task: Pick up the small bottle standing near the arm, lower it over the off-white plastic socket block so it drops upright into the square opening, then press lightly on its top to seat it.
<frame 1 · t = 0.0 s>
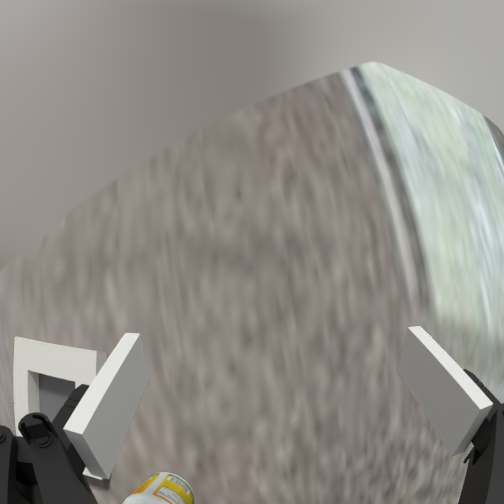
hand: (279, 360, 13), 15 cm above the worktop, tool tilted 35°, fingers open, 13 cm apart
socket block: (62, 405, 25), on the worktop
supplement bottle: (169, 491, 22), on the worktop
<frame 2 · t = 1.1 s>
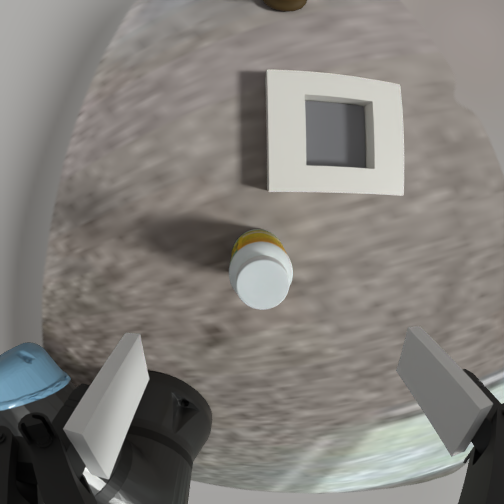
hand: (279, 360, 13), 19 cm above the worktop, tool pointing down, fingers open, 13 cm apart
socket block: (334, 134, 28), on the worktop
supplement bottle: (257, 252, 32), on the worktop
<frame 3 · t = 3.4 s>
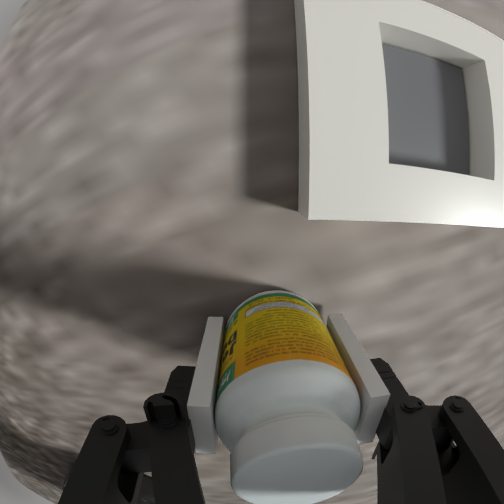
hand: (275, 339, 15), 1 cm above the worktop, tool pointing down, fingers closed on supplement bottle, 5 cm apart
socket block: (421, 108, 13), on the worktop
supplement bottle: (274, 330, 16), on the worktop, touching gripper
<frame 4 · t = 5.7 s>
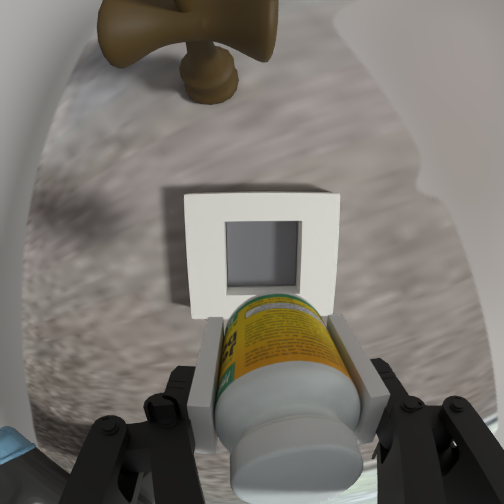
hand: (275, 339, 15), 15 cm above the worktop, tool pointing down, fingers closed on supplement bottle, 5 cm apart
socket block: (261, 252, 30), on the worktop
kendama: (212, 83, 26), on the worktop
supplement bottle: (274, 330, 16), point 14 cm above the worktop, touching gripper
when the fingers open (4 cm above the worktop, at t = 8.2 s): supplement bottle drops 3 cm, resting on socket block.
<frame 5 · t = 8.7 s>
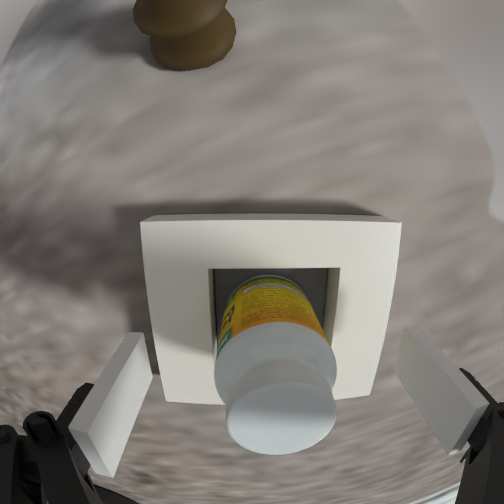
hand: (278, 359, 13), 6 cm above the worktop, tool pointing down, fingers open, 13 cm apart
socket block: (270, 308, 19), on the worktop
kendama: (194, 40, 15), on the worktop
supplement bottle: (267, 310, 19), resting on socket block
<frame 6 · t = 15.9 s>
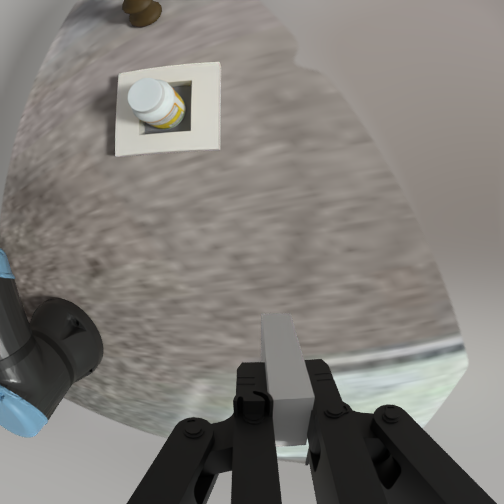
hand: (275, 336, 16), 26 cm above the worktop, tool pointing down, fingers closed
socket block: (169, 110, 36), on the worktop
kendama: (147, 16, 32), on the worktop
supplement bottle: (167, 111, 36), resting on socket block
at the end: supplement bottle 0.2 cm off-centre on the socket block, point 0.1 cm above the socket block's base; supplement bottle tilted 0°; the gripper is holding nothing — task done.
